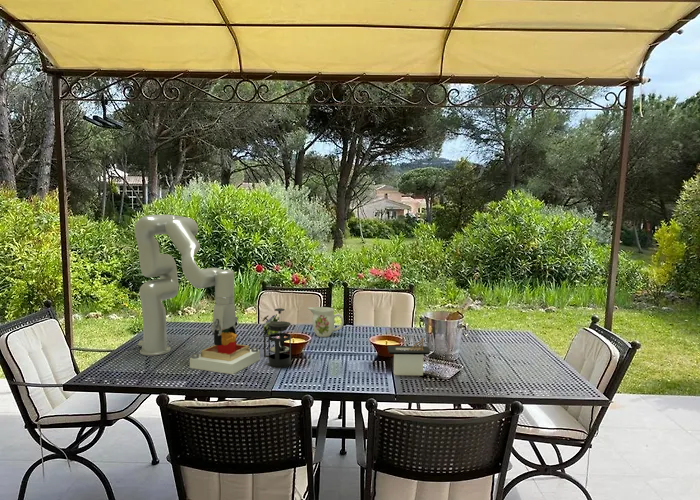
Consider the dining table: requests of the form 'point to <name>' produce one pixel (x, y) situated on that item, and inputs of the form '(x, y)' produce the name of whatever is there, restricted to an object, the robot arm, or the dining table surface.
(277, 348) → the french press
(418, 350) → the dark-capped white block
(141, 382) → the dining table surface
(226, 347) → the french fries
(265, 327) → the passion flower
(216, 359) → the gold-rimmed square tray
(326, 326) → the pitcher
